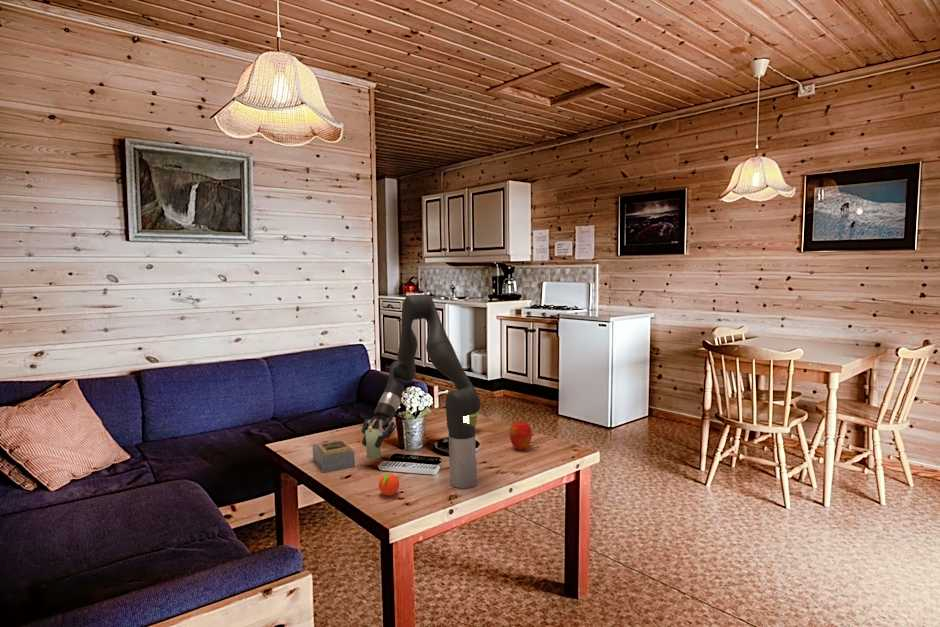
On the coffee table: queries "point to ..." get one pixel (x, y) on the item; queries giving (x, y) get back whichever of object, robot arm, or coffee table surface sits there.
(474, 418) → the plant pot
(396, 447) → the coffee table surface
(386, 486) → the clementine
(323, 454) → the grey open box
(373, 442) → the pale green candle
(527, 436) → the apple
